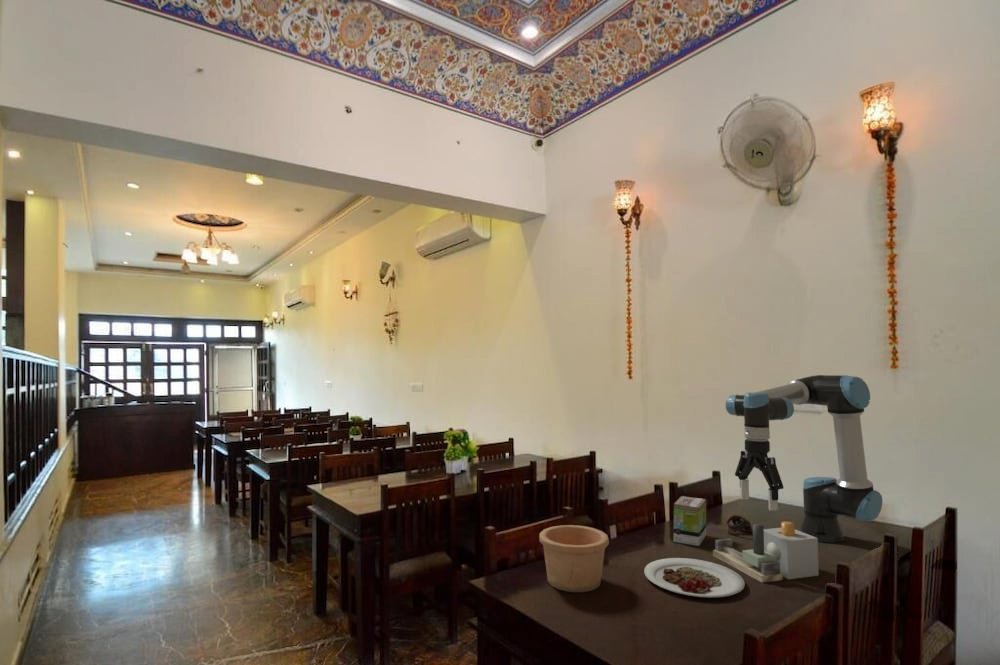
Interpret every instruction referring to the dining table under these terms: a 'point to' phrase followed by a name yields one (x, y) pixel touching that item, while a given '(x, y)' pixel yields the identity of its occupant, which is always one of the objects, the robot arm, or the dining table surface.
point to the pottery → (574, 557)
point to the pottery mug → (738, 524)
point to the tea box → (689, 520)
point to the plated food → (694, 577)
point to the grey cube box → (793, 552)
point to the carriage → (758, 548)
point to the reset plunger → (787, 528)
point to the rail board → (735, 559)
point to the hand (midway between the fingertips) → (758, 504)
